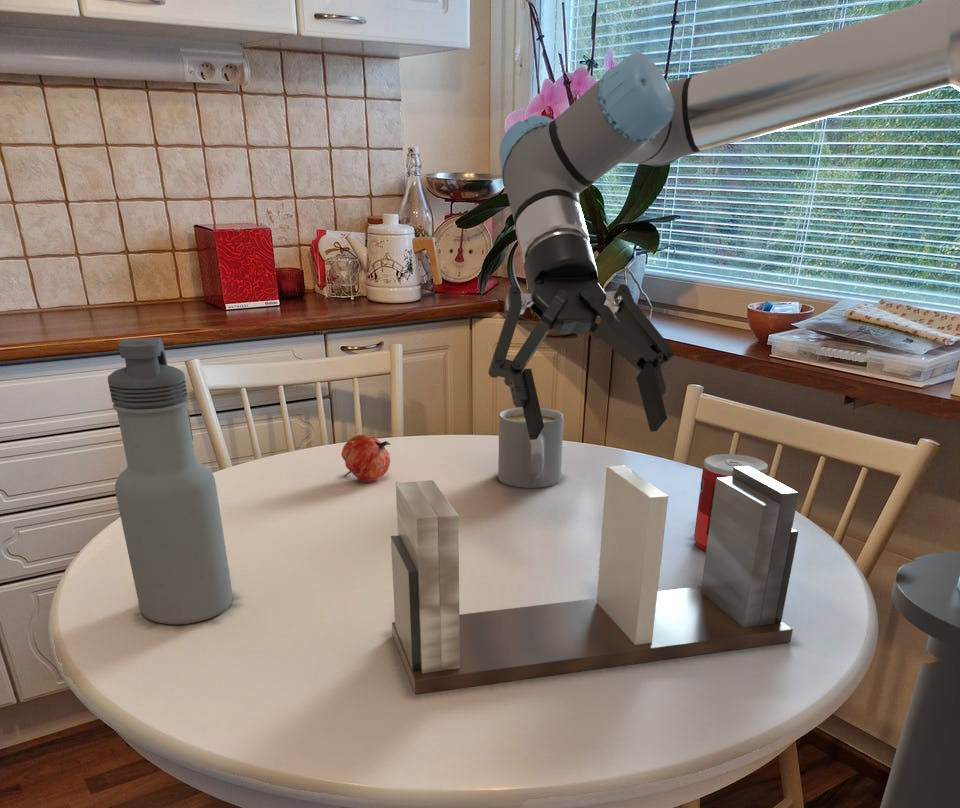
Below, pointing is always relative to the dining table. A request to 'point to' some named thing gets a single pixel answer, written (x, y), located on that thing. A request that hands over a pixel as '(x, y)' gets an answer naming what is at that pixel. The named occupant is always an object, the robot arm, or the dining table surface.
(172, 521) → the water bottle
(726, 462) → the canned food
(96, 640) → the dining table surface
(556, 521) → the dining table surface
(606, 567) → the white book
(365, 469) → the pomegranate
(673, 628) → the book shelf
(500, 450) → the coffee mug
